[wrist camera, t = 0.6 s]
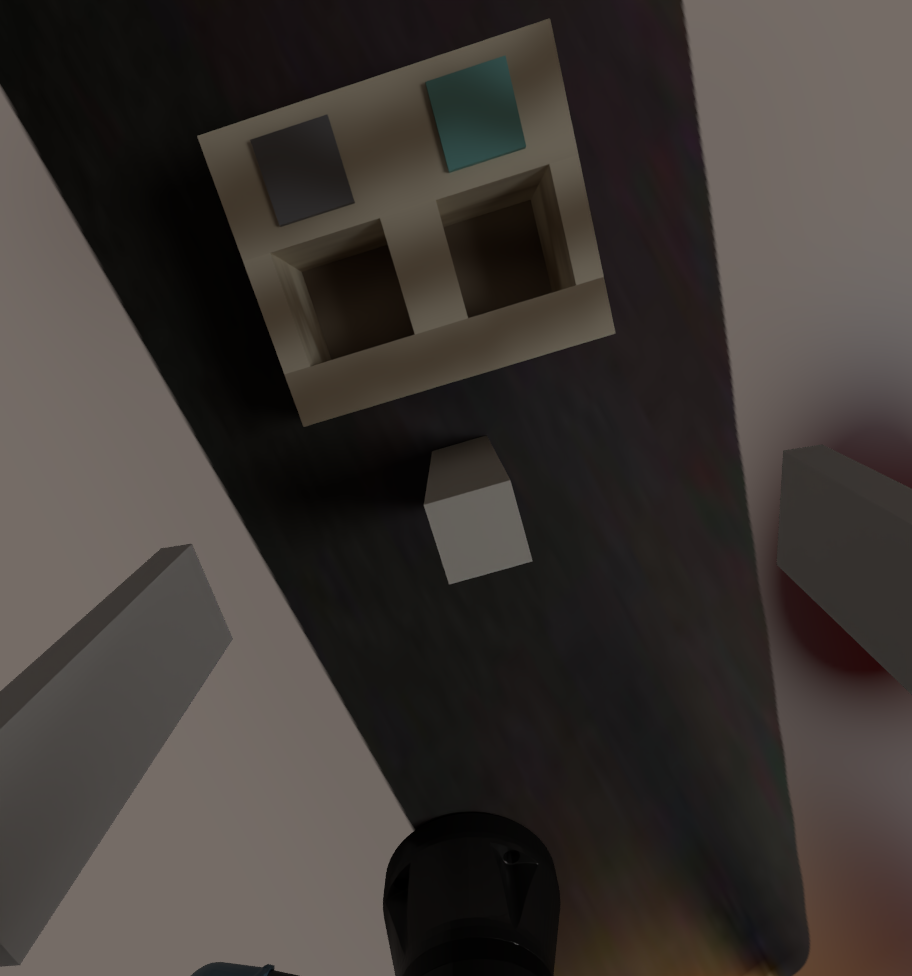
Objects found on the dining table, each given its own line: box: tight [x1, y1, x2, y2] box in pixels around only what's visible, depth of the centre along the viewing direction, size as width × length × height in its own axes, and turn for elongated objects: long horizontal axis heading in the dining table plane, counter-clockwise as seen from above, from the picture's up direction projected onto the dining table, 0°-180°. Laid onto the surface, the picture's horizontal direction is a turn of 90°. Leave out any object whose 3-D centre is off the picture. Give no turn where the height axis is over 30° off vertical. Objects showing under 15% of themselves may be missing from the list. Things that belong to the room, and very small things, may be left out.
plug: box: [424, 435, 532, 584], centre depth 30 cm, size 4×4×14 cm
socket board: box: [197, 19, 615, 427], centre depth 30 cm, size 15×18×7 cm
